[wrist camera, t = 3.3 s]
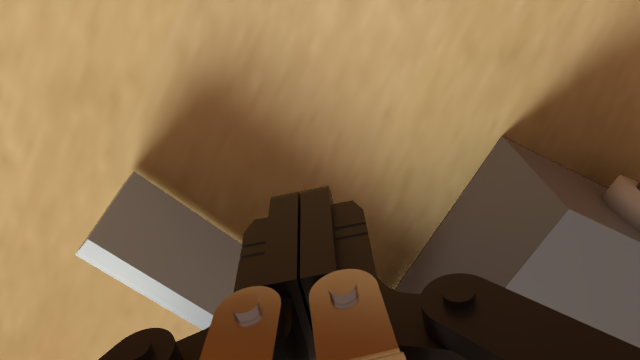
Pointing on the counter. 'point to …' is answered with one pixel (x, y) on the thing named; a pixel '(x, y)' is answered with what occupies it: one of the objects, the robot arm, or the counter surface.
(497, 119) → the counter surface
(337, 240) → the robot arm
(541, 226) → the camera box
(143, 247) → the door
